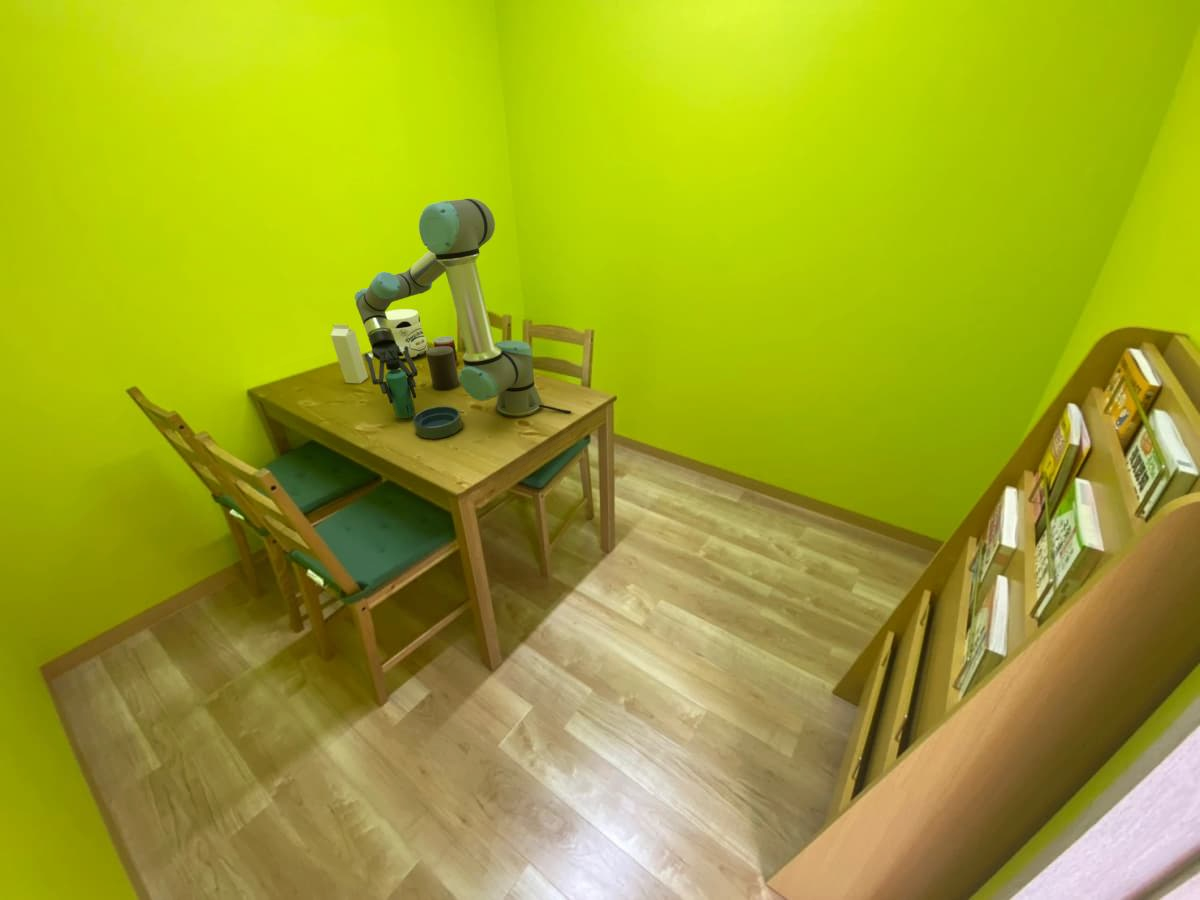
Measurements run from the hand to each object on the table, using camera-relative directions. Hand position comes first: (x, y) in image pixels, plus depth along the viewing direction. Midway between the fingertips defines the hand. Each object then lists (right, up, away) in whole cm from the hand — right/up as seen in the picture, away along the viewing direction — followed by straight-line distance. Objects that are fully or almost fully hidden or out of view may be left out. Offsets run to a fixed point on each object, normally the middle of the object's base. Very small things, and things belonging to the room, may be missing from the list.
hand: (403, 398), depth 152 cm
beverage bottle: (-2, -6, +7) cm, 9 cm away
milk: (-32, +11, +34) cm, 47 cm away
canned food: (0, +19, +46) cm, 50 cm away
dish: (+11, -9, +1) cm, 15 cm away
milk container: (-21, +25, +56) cm, 64 cm away
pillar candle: (+4, +8, +29) cm, 31 cm away
